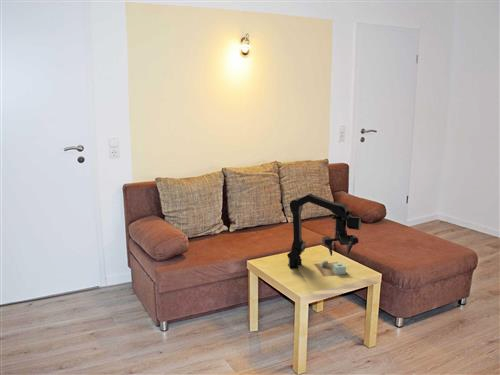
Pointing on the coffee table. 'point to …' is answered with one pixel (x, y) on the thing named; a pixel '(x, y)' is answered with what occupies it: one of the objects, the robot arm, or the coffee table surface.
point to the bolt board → (327, 268)
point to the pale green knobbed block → (339, 268)
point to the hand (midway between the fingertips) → (339, 255)
